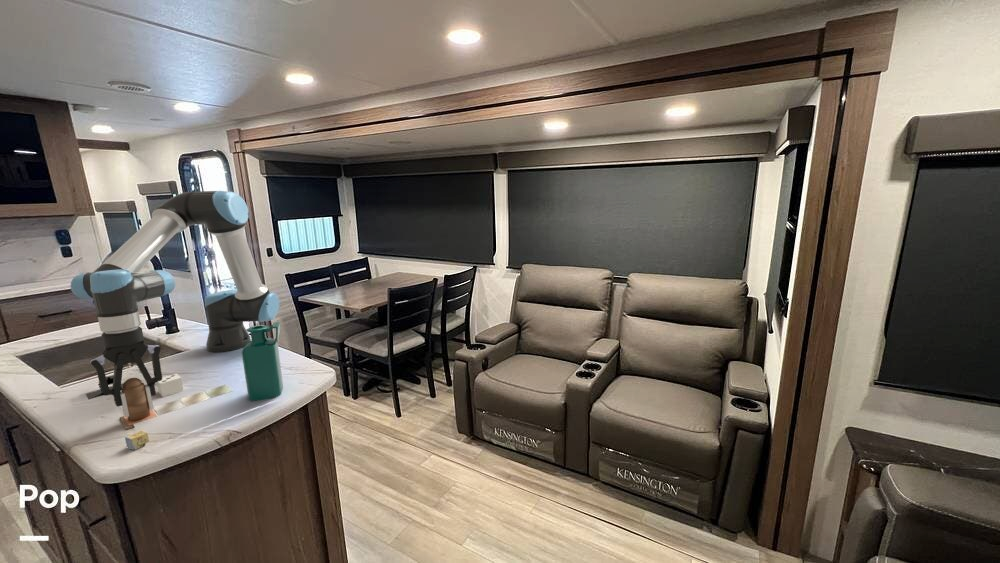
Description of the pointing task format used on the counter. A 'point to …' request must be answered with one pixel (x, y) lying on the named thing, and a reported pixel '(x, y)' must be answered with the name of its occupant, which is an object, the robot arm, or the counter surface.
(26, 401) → the counter surface
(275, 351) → the green plastic tall bottle
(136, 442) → the alphabet block
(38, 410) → the counter surface
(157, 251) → the robot arm
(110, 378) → the black piece
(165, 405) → the game board
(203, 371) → the counter surface
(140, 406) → the wooden domed cylinder
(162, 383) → the die
